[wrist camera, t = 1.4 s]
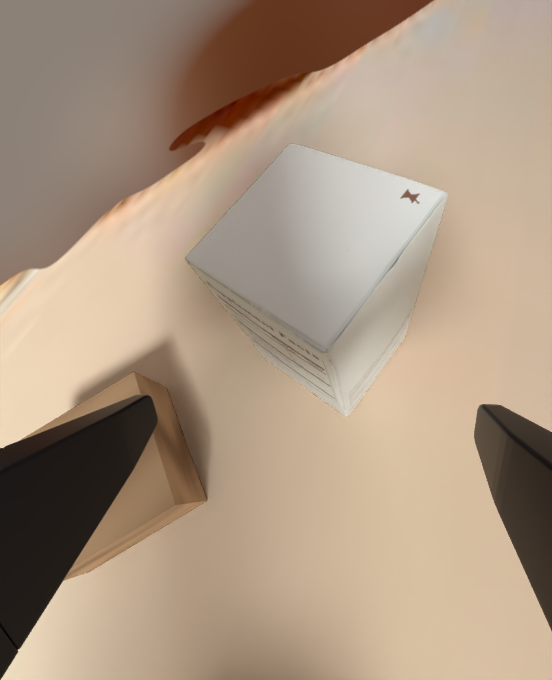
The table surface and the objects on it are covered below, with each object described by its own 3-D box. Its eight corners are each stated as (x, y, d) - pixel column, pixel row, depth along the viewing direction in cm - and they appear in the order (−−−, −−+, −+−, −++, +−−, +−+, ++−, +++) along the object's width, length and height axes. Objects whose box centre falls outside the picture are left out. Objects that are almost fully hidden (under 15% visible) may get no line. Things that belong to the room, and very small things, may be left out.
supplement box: (322, 289, 25) (292, 134, 14) (408, 337, 22) (460, 187, 11) (263, 360, 24) (177, 255, 13) (345, 422, 21) (329, 355, 9)
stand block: (207, 500, 21) (175, 505, 17) (89, 571, 21) (33, 591, 17) (165, 387, 25) (133, 371, 21) (68, 446, 25) (19, 440, 21)
